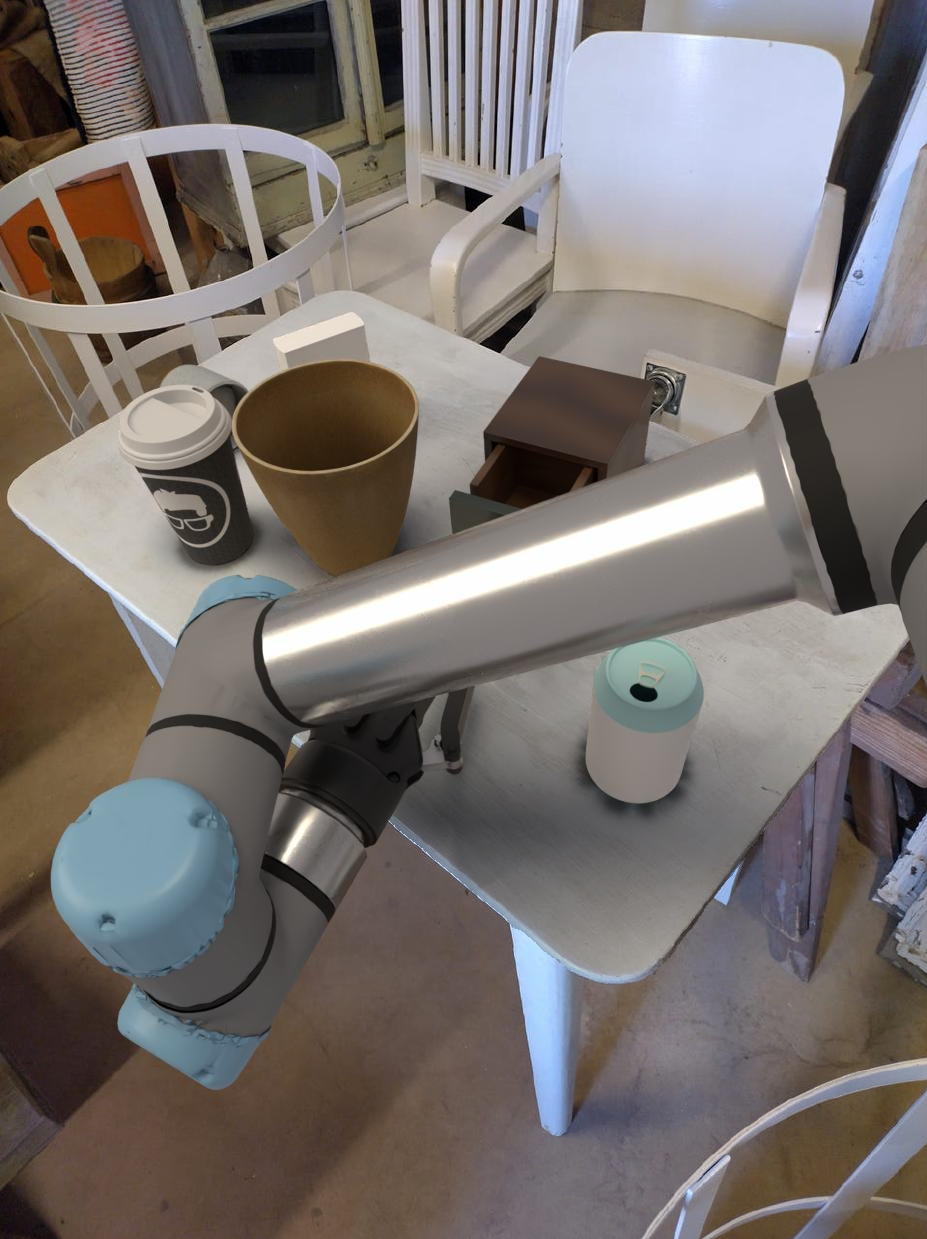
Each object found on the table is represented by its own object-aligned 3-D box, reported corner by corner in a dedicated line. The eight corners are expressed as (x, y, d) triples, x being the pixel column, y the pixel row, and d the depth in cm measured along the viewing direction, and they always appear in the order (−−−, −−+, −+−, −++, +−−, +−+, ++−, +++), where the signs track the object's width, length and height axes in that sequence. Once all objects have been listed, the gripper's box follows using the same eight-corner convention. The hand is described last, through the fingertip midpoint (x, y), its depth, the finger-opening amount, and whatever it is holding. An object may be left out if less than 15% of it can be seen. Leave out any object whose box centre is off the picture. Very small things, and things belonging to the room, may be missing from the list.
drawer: (542, 631, 68) (544, 567, 62) (433, 594, 72) (424, 530, 66) (607, 512, 77) (614, 446, 71) (507, 484, 80) (505, 419, 74)
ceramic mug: (217, 403, 93) (195, 344, 87) (264, 429, 90) (244, 369, 84) (142, 453, 89) (113, 394, 83) (188, 482, 85) (161, 422, 79)
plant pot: (304, 633, 71) (257, 495, 59) (261, 527, 80) (213, 388, 68) (461, 576, 74) (447, 434, 62) (403, 480, 83) (381, 339, 71)
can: (696, 794, 59) (727, 702, 50) (603, 817, 58) (617, 728, 49) (659, 715, 63) (682, 617, 54) (572, 735, 63) (580, 640, 54)
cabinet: (600, 544, 76) (607, 463, 68) (487, 511, 79) (482, 431, 72) (643, 462, 82) (655, 381, 75) (537, 435, 86) (538, 355, 79)
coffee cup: (286, 547, 78) (243, 417, 66) (193, 592, 75) (131, 465, 63) (244, 494, 83) (198, 365, 72) (156, 534, 80) (93, 407, 69)
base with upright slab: (319, 469, 85) (293, 369, 76) (286, 425, 90) (259, 326, 81) (395, 438, 87) (380, 337, 78) (360, 397, 93) (341, 298, 83)
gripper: (253, 808, 57) (413, 578, 70) (416, 885, 53) (554, 625, 66) (222, 754, 51) (402, 514, 64) (402, 835, 47) (556, 561, 60)
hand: (479, 571), depth 65 cm, fingers closed
